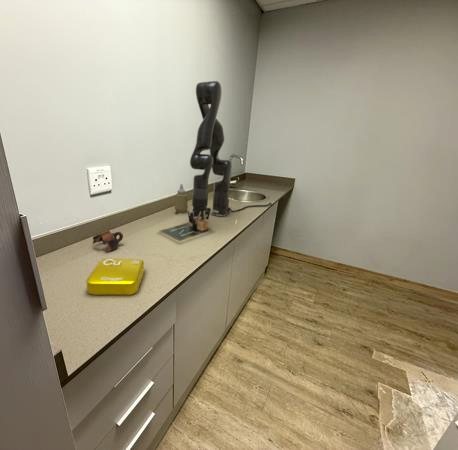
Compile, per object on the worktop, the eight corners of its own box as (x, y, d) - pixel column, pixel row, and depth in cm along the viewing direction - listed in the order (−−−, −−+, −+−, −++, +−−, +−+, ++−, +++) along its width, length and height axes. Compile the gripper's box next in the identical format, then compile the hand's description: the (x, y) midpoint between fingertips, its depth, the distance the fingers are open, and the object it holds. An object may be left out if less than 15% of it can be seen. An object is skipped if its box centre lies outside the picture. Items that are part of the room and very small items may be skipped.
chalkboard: (191, 223, 134) (191, 221, 134) (212, 232, 124) (212, 229, 123) (158, 233, 119) (158, 230, 119) (179, 243, 109) (179, 241, 108)
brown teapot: (99, 256, 96) (90, 237, 95) (98, 256, 104) (90, 238, 104) (128, 243, 101) (119, 225, 100) (125, 244, 110) (117, 227, 109)
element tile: (85, 295, 72) (83, 281, 71) (102, 268, 86) (101, 256, 85) (136, 295, 73) (135, 282, 72) (145, 269, 87) (144, 257, 86)
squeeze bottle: (181, 210, 156) (182, 182, 149) (190, 213, 150) (191, 184, 144) (171, 212, 150) (171, 184, 144) (180, 216, 145) (180, 186, 138)
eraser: (196, 225, 128) (196, 216, 126) (208, 230, 122) (209, 221, 120) (189, 227, 124) (189, 218, 123) (201, 232, 119) (201, 223, 117)
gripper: (194, 200, 110) (193, 234, 116) (215, 196, 120) (213, 228, 126) (183, 197, 115) (183, 230, 121) (205, 193, 124) (203, 224, 130)
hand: (198, 229), depth 123 cm, fingers closed on eraser, 5 cm apart
